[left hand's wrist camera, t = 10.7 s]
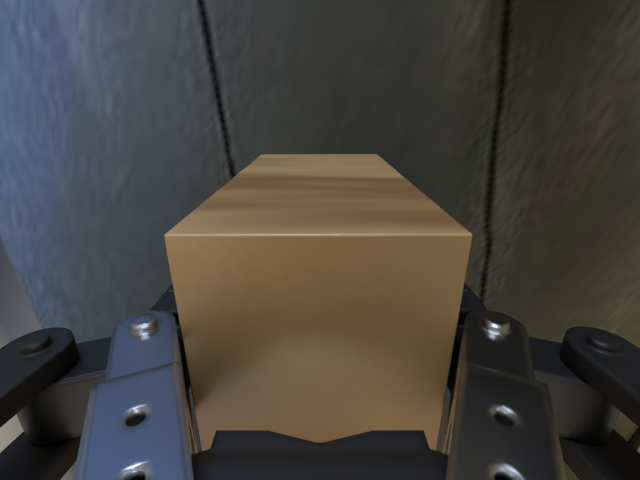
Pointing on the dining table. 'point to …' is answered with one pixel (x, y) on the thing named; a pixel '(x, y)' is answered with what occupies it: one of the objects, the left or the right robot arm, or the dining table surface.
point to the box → (318, 299)
